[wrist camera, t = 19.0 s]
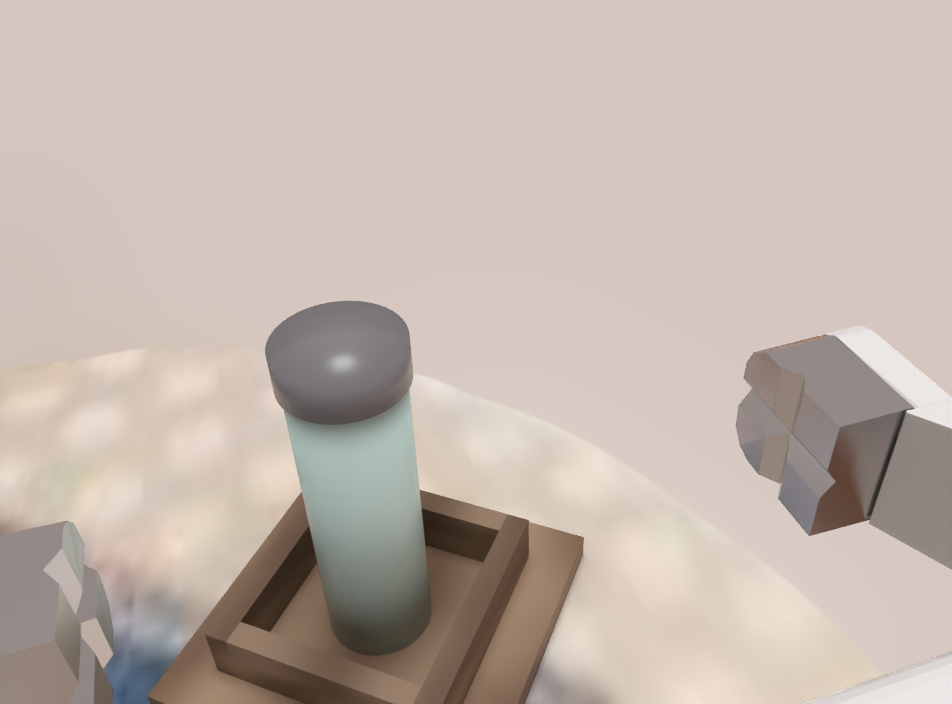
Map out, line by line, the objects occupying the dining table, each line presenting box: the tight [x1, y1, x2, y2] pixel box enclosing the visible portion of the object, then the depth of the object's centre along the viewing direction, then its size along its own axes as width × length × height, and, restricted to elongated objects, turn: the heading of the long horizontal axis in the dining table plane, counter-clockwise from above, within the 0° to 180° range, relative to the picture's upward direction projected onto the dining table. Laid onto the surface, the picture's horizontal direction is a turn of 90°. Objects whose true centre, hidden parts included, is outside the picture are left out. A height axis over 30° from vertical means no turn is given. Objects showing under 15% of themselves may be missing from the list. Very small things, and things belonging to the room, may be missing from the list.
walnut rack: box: [147, 490, 584, 704], centre depth 38 cm, size 14×14×4 cm
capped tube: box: [265, 301, 432, 656], centre depth 34 cm, size 5×5×15 cm
